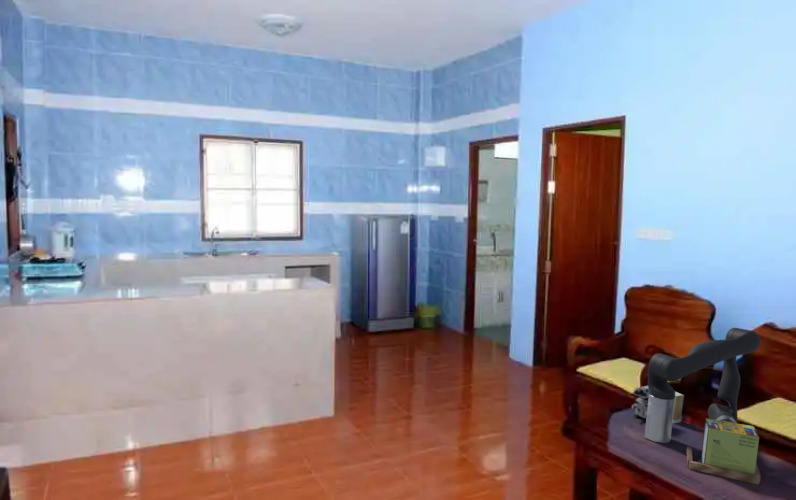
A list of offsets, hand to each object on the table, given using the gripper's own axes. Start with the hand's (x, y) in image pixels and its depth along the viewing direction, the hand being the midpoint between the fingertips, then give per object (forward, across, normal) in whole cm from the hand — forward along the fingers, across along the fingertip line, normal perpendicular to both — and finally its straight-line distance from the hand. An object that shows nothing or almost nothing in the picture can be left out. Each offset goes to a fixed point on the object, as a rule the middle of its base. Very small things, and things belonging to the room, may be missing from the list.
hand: (732, 444), depth 206 cm
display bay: (+5, -3, +7) cm, 9 cm away
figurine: (-27, -30, +7) cm, 41 cm away
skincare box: (-35, -18, +7) cm, 40 cm away
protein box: (+5, -2, +7) cm, 9 cm away
